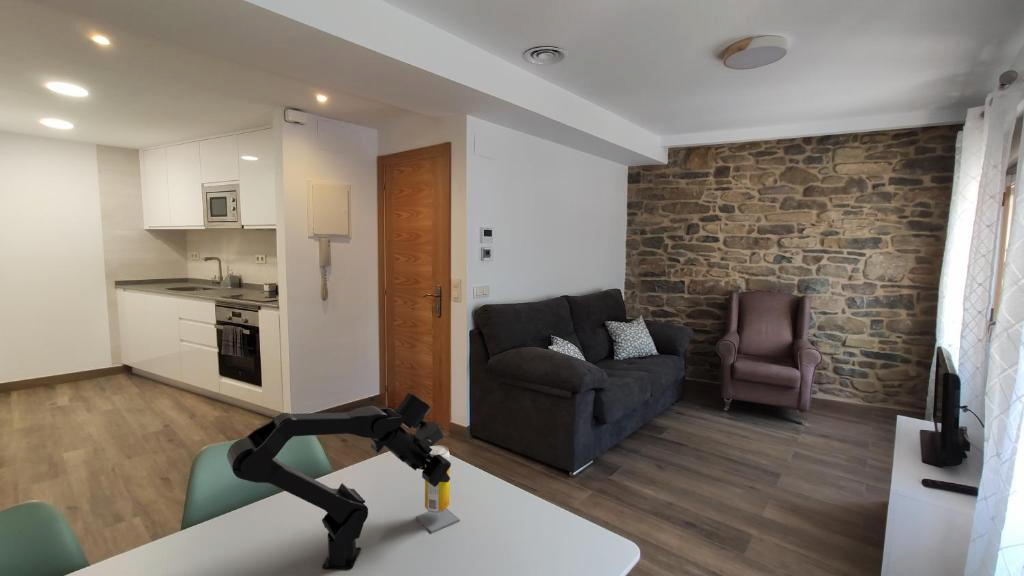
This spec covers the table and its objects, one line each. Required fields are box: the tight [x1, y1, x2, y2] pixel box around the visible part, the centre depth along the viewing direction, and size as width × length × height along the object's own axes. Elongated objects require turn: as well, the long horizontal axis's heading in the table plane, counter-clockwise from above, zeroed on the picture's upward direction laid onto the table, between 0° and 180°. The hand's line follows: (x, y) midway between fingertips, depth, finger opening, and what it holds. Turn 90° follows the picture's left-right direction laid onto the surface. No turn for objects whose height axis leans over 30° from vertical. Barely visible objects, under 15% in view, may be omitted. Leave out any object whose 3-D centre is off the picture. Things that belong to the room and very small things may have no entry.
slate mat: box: [415, 508, 461, 534], centre depth 117 cm, size 8×8×1 cm
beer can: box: [424, 445, 451, 513], centre depth 116 cm, size 6×6×15 cm
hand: (442, 475), depth 117 cm, fingers closed on beer can, 6 cm apart
